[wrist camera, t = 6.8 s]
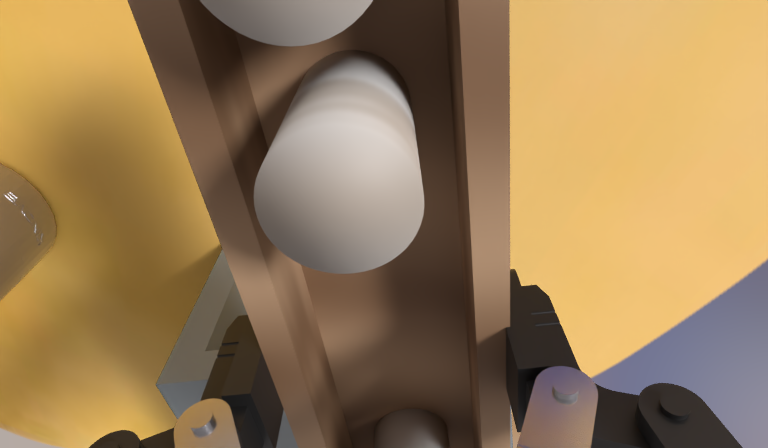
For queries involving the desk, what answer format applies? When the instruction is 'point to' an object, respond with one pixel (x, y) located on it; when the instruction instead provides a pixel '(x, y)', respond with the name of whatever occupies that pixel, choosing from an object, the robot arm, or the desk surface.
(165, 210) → the desk surface
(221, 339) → the grey bridge block
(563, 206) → the desk surface
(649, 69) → the desk surface
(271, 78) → the tray
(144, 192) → the desk surface
